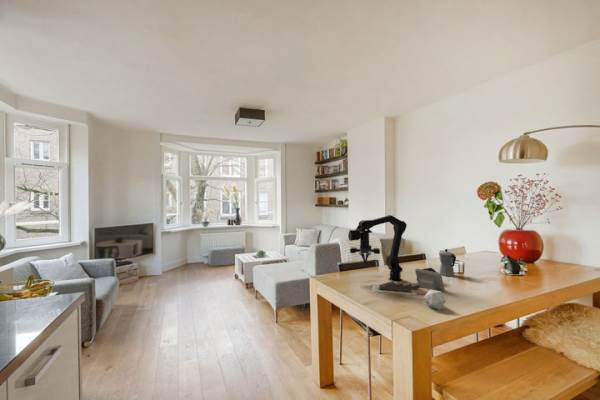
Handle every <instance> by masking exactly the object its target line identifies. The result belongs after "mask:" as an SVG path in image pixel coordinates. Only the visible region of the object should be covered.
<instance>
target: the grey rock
mask: <svg viewBox="0 0 600 400" xmlns="http://www.w3.org/2000/svg"><path fill="white" fill-rule="evenodd" d="M423 297H424V300H425V303H426V305H427V307H428V308H431V309H435V310H441V309H442V307H443V306H444V305H445V304H446V300H445V297H444V294H443V291H441V290H431V289H430V290H429V291H428V292H427V294H424V296H423Z"/></svg>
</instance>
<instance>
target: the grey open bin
mask: <svg viewBox="0 0 600 400" xmlns="http://www.w3.org/2000/svg"><path fill="white" fill-rule="evenodd" d="M422 270H426V271H431V272H436V273H439V272H438V271H436V270H435V269H434V268H432V267H427V268H422ZM416 281H417V282H418V280H417V279H416Z"/></svg>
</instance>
